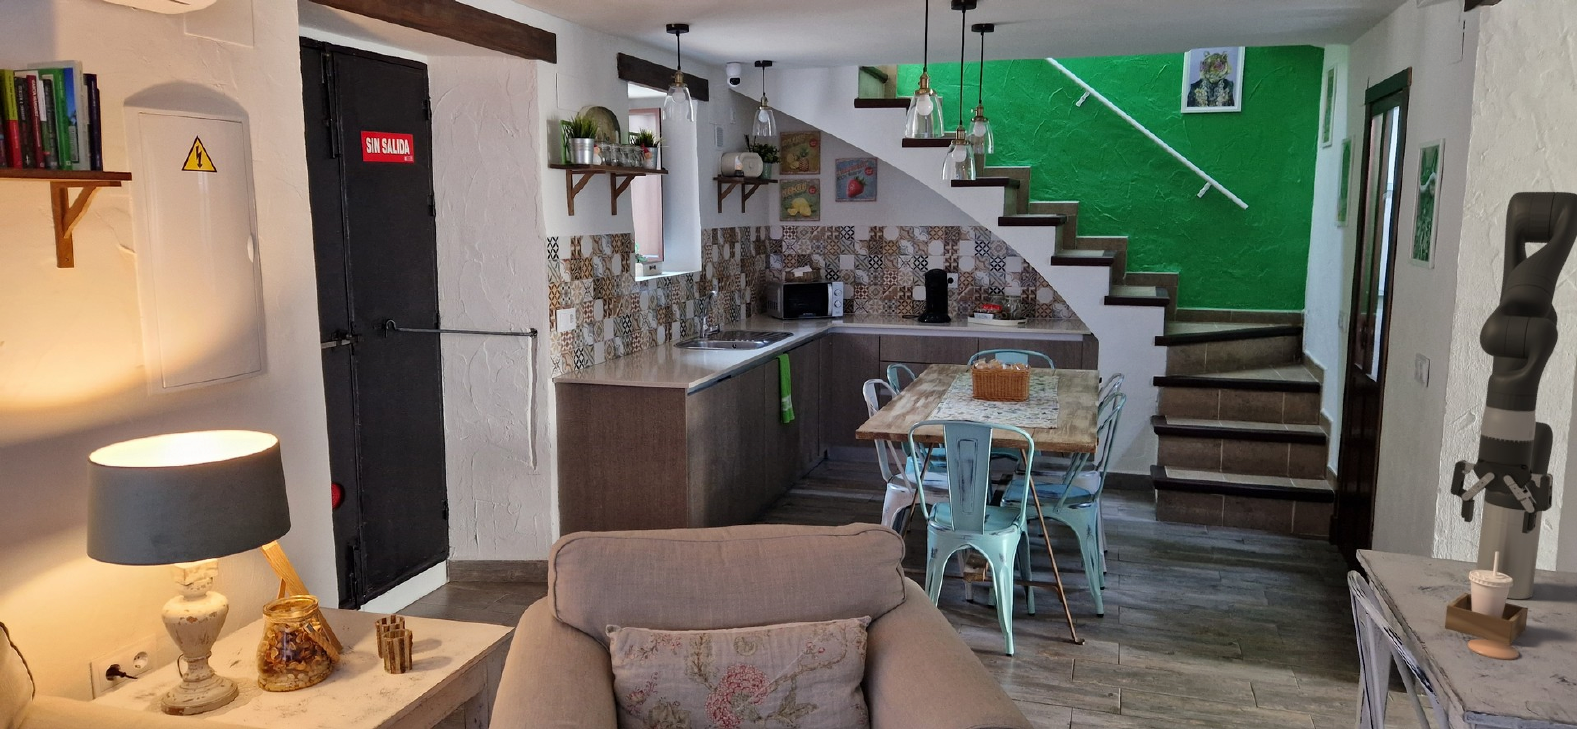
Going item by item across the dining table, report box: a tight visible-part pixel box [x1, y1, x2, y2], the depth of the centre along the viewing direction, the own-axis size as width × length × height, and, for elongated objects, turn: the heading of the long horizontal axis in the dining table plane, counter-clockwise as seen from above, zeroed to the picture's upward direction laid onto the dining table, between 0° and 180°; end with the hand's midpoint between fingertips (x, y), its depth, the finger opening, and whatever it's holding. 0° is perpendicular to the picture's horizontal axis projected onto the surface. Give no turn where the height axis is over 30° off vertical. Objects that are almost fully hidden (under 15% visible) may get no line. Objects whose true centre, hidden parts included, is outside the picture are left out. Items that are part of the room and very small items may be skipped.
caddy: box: [1444, 592, 1529, 646], centre depth 184 cm, size 10×10×4 cm
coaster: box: [1467, 638, 1520, 661], centre depth 175 cm, size 7×7×1 cm
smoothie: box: [1468, 551, 1513, 618], centre depth 183 cm, size 6×6×14 cm
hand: (1496, 526), depth 182 cm, fingers open, 8 cm apart
